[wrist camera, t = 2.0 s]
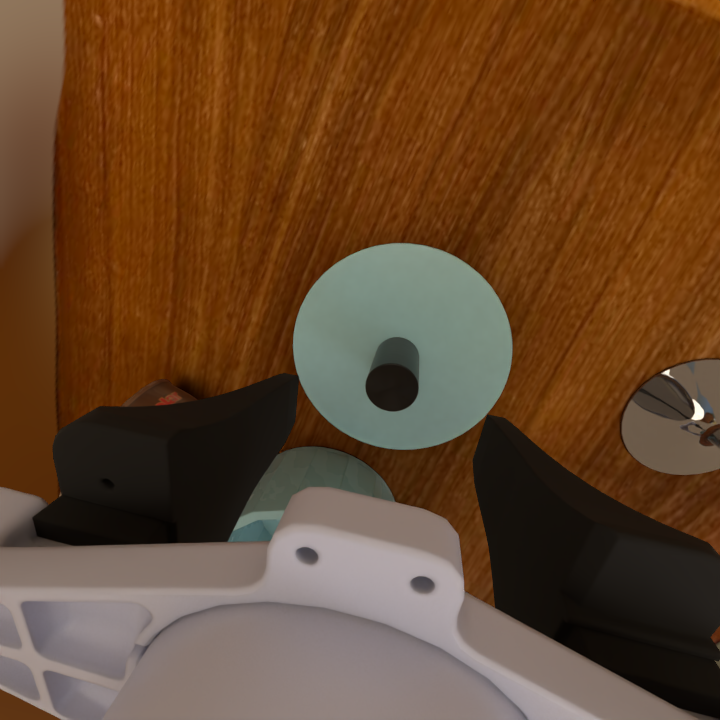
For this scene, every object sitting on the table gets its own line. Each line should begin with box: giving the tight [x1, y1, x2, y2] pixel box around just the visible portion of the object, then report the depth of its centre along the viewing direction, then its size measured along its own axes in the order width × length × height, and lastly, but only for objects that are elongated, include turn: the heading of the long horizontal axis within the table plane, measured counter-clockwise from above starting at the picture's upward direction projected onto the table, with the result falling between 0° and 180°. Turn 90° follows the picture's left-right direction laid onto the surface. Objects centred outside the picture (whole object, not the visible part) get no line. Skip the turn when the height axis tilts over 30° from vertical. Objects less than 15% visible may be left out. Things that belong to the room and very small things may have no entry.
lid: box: [293, 243, 512, 450], centre depth 18 cm, size 12×12×5 cm
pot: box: [228, 446, 395, 542], centre depth 23 cm, size 11×16×6 cm
